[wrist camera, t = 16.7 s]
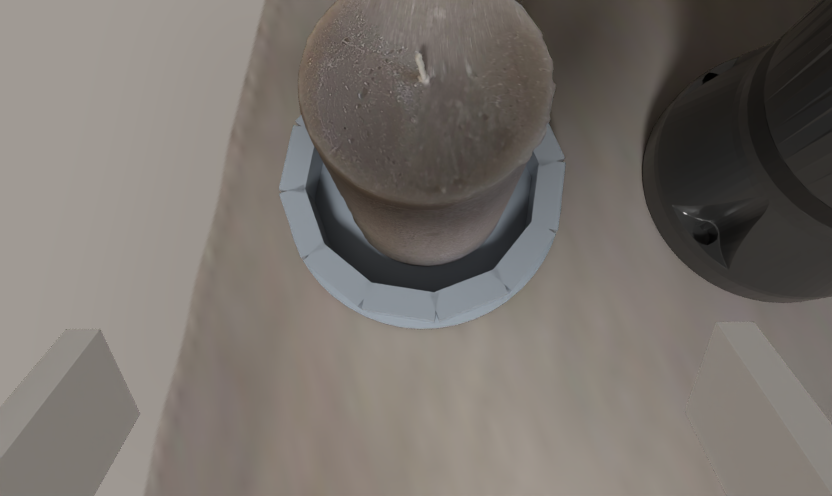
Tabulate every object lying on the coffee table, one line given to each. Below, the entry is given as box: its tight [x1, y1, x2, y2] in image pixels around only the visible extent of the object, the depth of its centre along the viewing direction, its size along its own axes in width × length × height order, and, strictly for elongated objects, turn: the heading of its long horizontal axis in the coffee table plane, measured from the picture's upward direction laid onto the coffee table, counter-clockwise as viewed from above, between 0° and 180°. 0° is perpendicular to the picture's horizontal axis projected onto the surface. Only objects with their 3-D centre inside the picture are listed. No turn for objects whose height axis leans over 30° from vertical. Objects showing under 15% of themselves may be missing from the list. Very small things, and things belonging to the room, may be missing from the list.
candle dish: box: [279, 115, 566, 329], centre depth 33 cm, size 17×17×4 cm
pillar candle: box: [298, 0, 556, 267], centre depth 26 cm, size 10×10×15 cm
